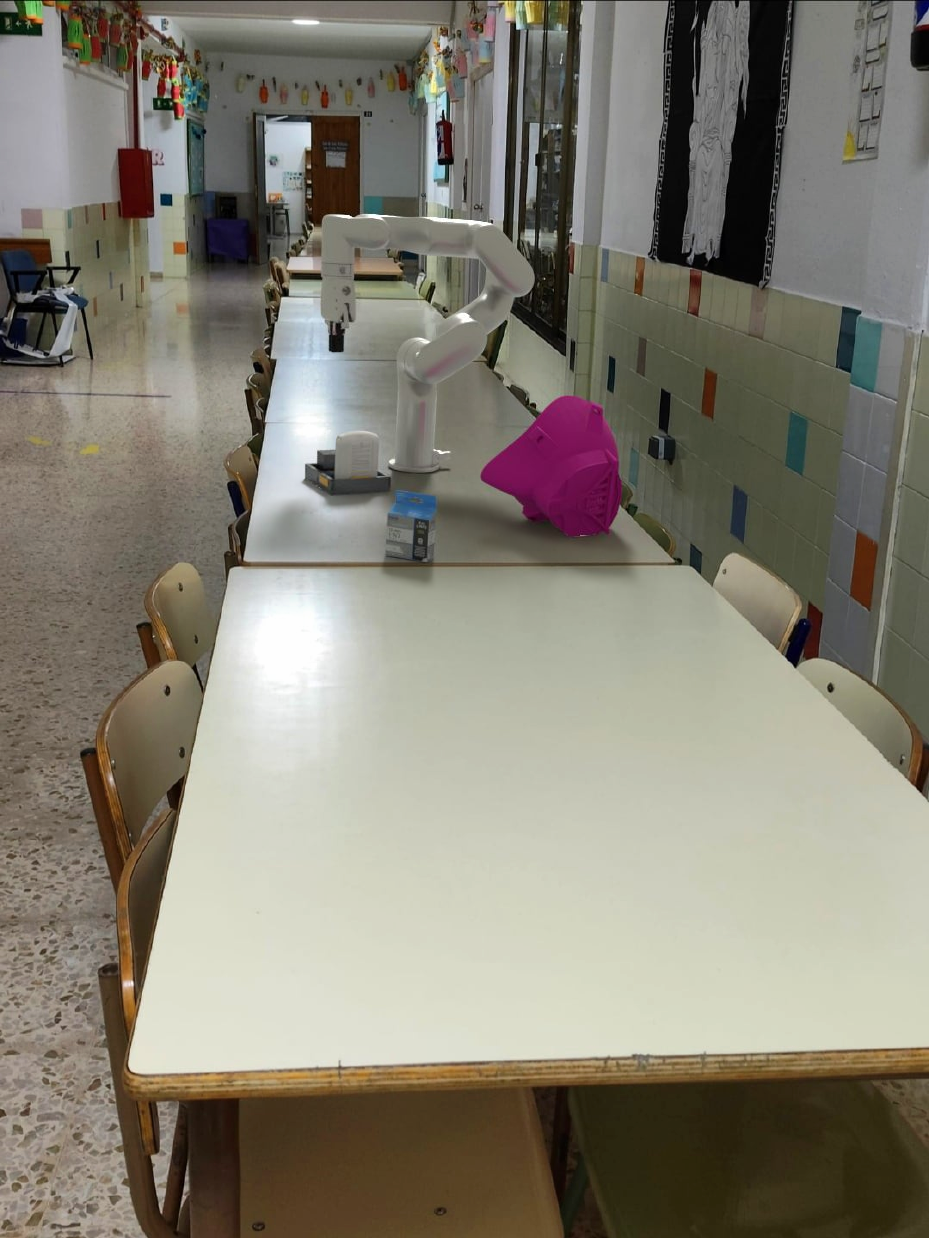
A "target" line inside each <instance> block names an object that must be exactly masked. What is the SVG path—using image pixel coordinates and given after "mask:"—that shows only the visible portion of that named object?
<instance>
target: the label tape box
mask: <svg viewBox="0 0 929 1238" xmlns="http://www.w3.org/2000/svg"><path fill="white" fill-rule="evenodd" d="M415 498H416V499H417V500H421V501H422V502H420V501H412V500H410V499H415ZM437 499H438V498H437V495H431V494H427V493H426V494H424V493H419V492H412V491H405V490H400V489H399V490H398V489H395V501H394V503H393V505H392V506H391V508H390V510H388V513H387V514H386V515H387V516H386V517H387V518H386V519H387V520H386V536H385V552H384V553H385V554H384V555H385V556H388V557H393V558H400V559H407V560H412V561H418V562H424V563H428V562H430V561H431V560H433V559H434V557H435V544H436V543H435V542H436V528H437V527H436V525H437V515H438V513H437V512H438V508H437V507H438V506H437V502H438V501H437Z"/></svg>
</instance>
